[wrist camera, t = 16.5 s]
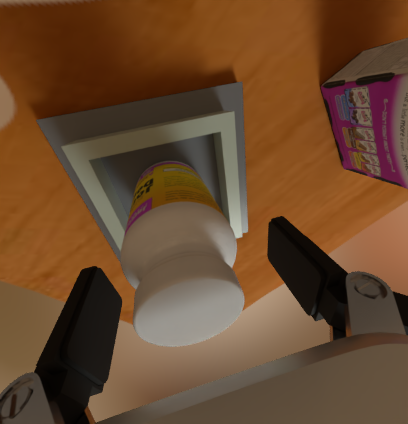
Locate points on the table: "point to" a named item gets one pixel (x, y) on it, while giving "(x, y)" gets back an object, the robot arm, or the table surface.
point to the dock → (154, 151)
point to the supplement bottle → (179, 258)
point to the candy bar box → (372, 112)
